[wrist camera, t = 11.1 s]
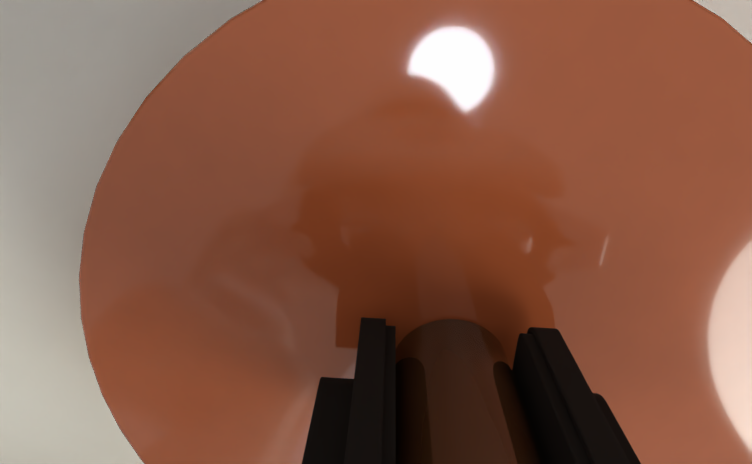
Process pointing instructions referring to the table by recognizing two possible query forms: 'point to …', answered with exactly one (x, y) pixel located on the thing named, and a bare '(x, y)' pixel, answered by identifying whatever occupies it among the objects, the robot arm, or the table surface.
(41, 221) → the table surface
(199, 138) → the lid
